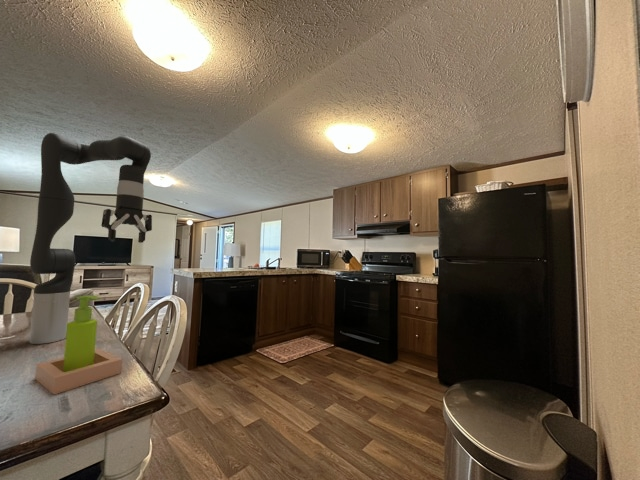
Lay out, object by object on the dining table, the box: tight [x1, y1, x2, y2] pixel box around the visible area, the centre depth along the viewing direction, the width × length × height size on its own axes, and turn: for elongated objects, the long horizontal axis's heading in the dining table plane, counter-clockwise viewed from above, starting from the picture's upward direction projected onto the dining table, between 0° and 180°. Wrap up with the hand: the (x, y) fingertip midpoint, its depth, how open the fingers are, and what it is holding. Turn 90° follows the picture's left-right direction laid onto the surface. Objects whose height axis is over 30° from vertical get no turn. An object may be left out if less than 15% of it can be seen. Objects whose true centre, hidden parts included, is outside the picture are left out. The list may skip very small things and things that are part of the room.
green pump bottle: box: [63, 294, 101, 372], centre depth 68 cm, size 6×7×20 cm
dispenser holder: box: [34, 348, 123, 395], centre depth 67 cm, size 14×13×4 cm
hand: (127, 241), depth 89 cm, fingers open, 8 cm apart
